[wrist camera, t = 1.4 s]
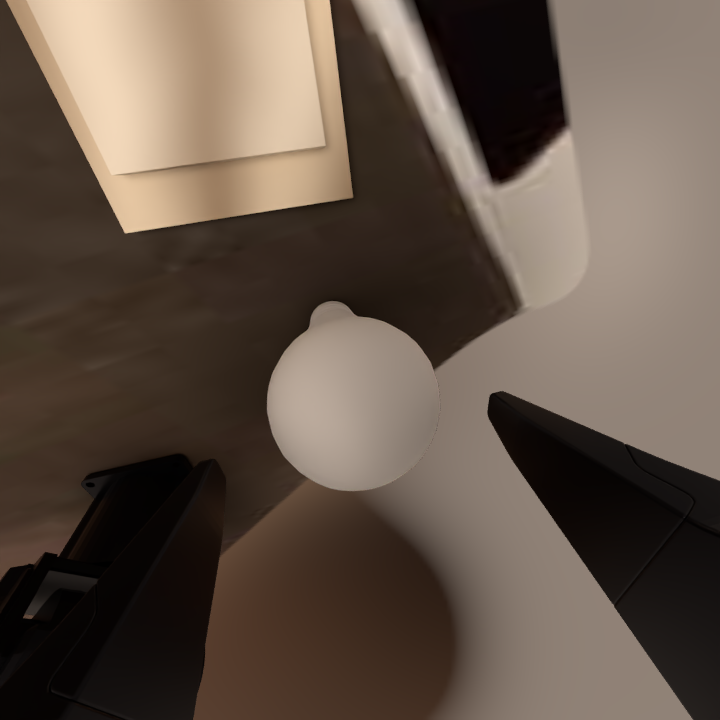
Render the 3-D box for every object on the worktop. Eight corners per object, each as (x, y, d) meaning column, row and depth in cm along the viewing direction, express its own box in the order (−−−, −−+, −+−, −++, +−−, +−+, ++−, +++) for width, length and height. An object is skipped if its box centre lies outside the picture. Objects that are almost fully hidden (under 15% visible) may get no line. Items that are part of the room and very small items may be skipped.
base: (135, 230, 14) (113, 237, 12) (-125, -301, 7) (-250, -444, 6) (349, 196, 15) (356, 198, 13) (287, -298, 8) (286, -421, 7)
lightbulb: (254, 302, 16) (203, 463, 7) (348, 240, 16) (429, 330, 6) (316, 377, 20) (338, 553, 10) (397, 328, 19) (497, 471, 10)
